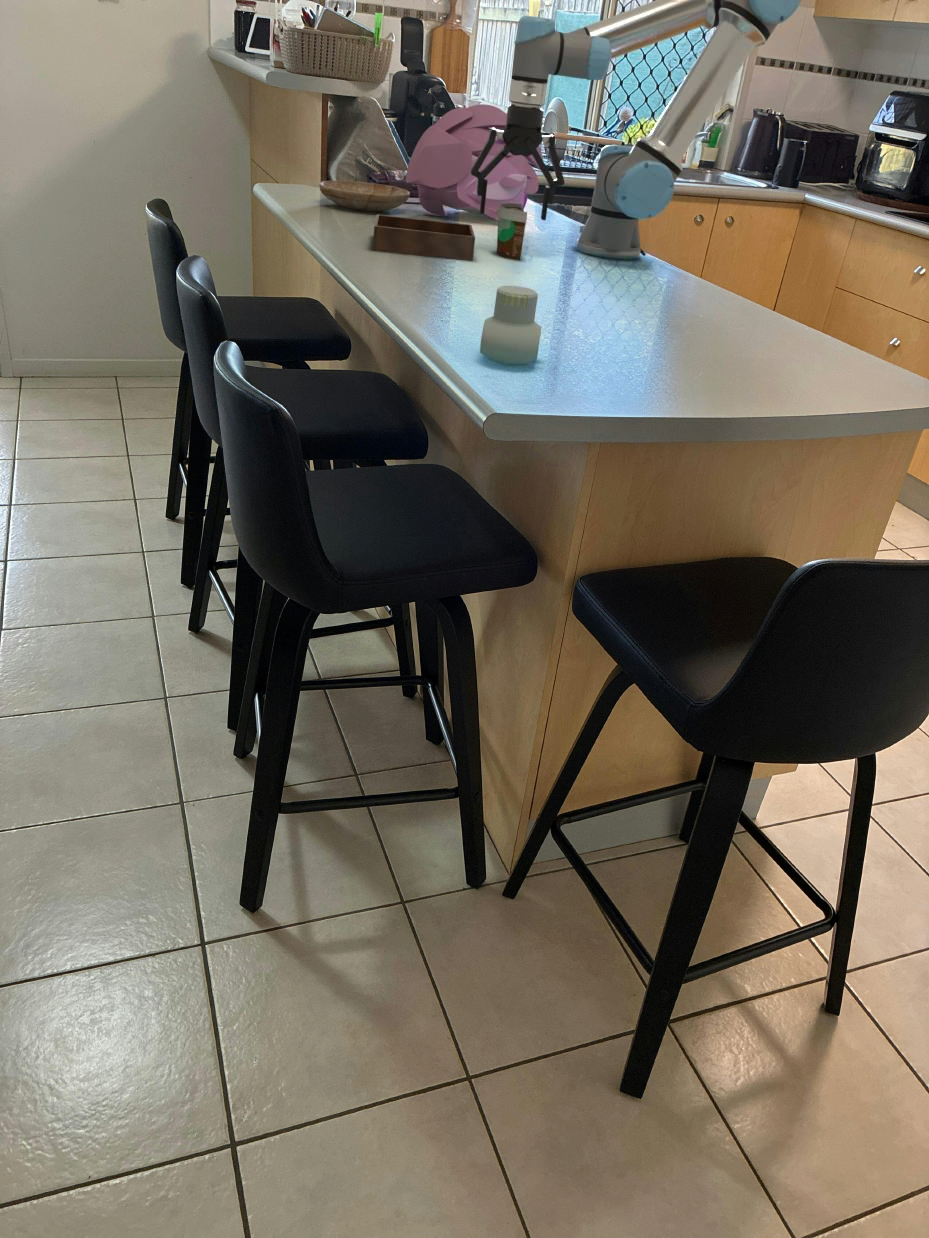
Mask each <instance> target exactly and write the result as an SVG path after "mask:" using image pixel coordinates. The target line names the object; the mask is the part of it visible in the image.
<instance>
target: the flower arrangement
mask: <svg viewBox="0 0 929 1238" xmlns="http://www.w3.org/2000/svg"><path fill="white" fill-rule="evenodd" d="M506 119H507V112H505V111H504V110H503V109H501V108H499V107H498V106H494V105H491V104H485V103H482V104H481V103H480V104H479V103H478V104H474V105H471V106H468V107H466V106H465V107H464V106H461V107H457V108H453V109H451V110H449V111H448V112H446V113H444V114H443V115H442V116H441V117H439V118H438V120H436V122H435V123H434V124H433V125H430V126H429V127H428V128H427V129H426V130H425V131H424V132H423V133H422V135H421V137H420V138H419V140H418V142H417V143H416V146H415V147H414V150H413V152H412V155H411V158H410V159H409V162H408V165H407V168H406V173H405V182H406V184H411V185H416V186H417V189H418V199H419V200H418V201H419V203H420V205H421V207H422V208H423V209H424V210H425V211H426V212H427V213H429V214H432V215H435V216H439V217H445V216H446V212H445V208H444V207H447V208H451V209H454V210H457V211H463V212H466V213H470V214H477V215H483V216H487V217H490V218H491V219H494V220H495V221H497V222H498V216H496V212H497V209H498V207H499V205H500V204H503V203H515V204H522V210H524V211H525V208H526V204H527V201H528V194H529V195H533V194H534V195H535V194H536V193H537V192H538V191H539V184H540V183H539V177H538V175H537V172H536V170H535V168H537V169H538V170H540V168H539V166H538V164H537V163H536V161H535V159H534V157H533V156H532V154H531V155H530V156H528V157H525V156H522V155H517V156H516V155H513V154H511V153H510V152H509V154H508V155H507V156H505V157H504V158H503V159H502V160H501V161H500V163H499V164H498V165H497V166H496V167H495V168H494V169H493V170H492V171H491V172H490V173H489V174H488V175H487V176H486V177H485V178H484V179H487V181H488V182H487V191H486V200H485V210H484V214H481V213H480V206H481V196H478V195H477V185H478V178H477V177H475V176H473V175H472V174H471V172H470V171H471V169H472V167H473V165H474V163H475V162H476V160H477V158H478V156H479V155H480V153H481V151H482V149H483V148H484V146H485V144H486V142H487V141H488V139H489V134H490V130H491V128H495V129H496V130H499V131H504V130H505V127H506ZM505 145H506V144H505V142H504V140H503V137H500V138H499V140H498V141H495V142H494V144H493V146H492V148H491V150H490V151H489V153H488V155H487V156H486V158H485V160H484V162H483V163H482V165H481V167H480V169H479V170H478V171H480V172H481V171H482V170H483V169H484V168H485V167H486V166H487V164H488V163H489V162H490V161H491V160H492V159H493V158H494V157H495V156H496V155H497V154H498V153H499V152H500V151H501V149H502V148H503V147H504V146H505ZM537 151H538V153H539V155H540V157H541V158H542V160H543V161H544V158H543V152H542V149H541V147H540V145H539V146H538V147H537ZM532 165H533V166H534V167H535V168H534V167H533V166H532Z"/></svg>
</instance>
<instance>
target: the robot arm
mask: <svg viewBox="0 0 929 1238" xmlns="http://www.w3.org/2000/svg"><path fill="white" fill-rule="evenodd" d="M801 3H802V0H653V1H650V2H648V3H645V4H642V5H639V6H637V7H634V8H631V9H628V10H626V11H624V12H621V13H617V14H615V15H612V16H609V17H607V18H605V19H602V20H599V21H596V22H593V23H591V24H589V25H585V26H584V27H581V28H578V29H575V30H572V31H569V32H562V31H557V30H556V21H555V20H554V18H553V19H552V18H548V17H540V16H533V15H532V16H531V15H523V16H522V17H520V19H519V20H518V22H517V28H516V34H515V39H514V50H513V57H512V58H513V59H512V70H511V77H510V78H511V79H510V85H509V94H508V101H509V102H510V104H509V105H508V106H507V111H506V114H507V119H506V127H505V130H504V131H499V130H496V129H495V128H490V129H491V130H490V134H489V139H488V141H487V142H486V144H485V146H484V148H483V149H482V151H481V153H480V155H479V156H478V158H477V160H476V162H475V163H474V165H473V167H472V169H471V171H470V172H471V174H472V175H473V176H475V177H477V178H478V185H477V195H478V196H481V206H480V213H481V214H480V215H482V214H484V210H485V200H486V191H487V182H488V181H487V179H484V178H485V177H486V176H487V175H488V174H489V173H490V172H491V171H492V170H493V169H494V168H495V167H496V166H497V165H498V164H499V163H500V161H501V160H502V159H503V158H504V157H505V156H507V155H508V154H509V152H510V153H511V154H513V155H516V156H517V155H522V156H525V157H528V156H530V155H531V154H532V156H533V157H534V159H535V161H536V163H537V164H538V166H539V168H540V169H539V171H540V172H541V173H542V175H543V177H544V179H545V180H546V182H547V184H548V185H545V186H544V190H543V200H542V206H541V213H540V219H541V221H547V215H548V207H549V204H550V205H552V204H553V203H554V198H555V191H556V188H557V187H560V186H564V185H565V183H566V182H565V178H564V174H563V171H562V168H561V164H560V160H559V158H558V154H557V150H556V137H555V135H553V134H549V135H543V134H542V128H543V121H544V120H543V119H544V113H545V111H544V109H543V108H542V107H544V106H545V104H546V95H547V88H548V82H549V76H550V75H551V76H559V77H565V78H566V77H567V78H573V79H581V80H587V81H602V80H603V79H604V78H605V77H606V75H607V73H608V72H609V67H610V63H611V60H613V59H616V58H617V57H621V56H624V55H627V54H629V53H632V52H635V51H637V50H640V49H643V48H646V47H649V46H651V45H654V44H657V43H660V42H662V41H665V40H668V39H671V38H673V37H676V36H679V35H682V34H684V33H688V32H690V31H693V30H695V29H698V28H701V27H702V28H704V29H706V30H711V29H713V28H715V30H714V31H713V33H712V34H711V35H710V38H709V39H708V40H707V42H706V44H705V46H704V47H703V48H702V50H701V51H700V54H699V55H698V57H697V58H696V60H695V61H694V63H693V64H692V66H691V67H690V69H689V71H688V72H687V74H686V76H685V77H684V79H683V81H682V82H681V83H680V85H679V87H678V89H677V90H676V91H675V94H674V95H673V96H672V98H671V100H670V101H669V103H668V105H667V106H666V107H665V109H664V110H663V112H662V114H661V115H660V116H659V119H658V120H657V122H656V123H655V125H654V127H653V128H652V130H651V131H650V133H649V134H648V135H647V136H643V137H640V138H638V139H637V140H636V142H635V143H634V145H633V146H630V145H615V144H612V145H611V144H609V145H604V147H602V148H601V150H600V154H599V158H598V160H597V170H596V175H595V181H594V187H593V188H594V189H593V194H592V199H591V200H592V201H591V206H590V211H589V216H588V218H587V220H586V222H585V223H584V224H585V225H580V226H579V233H580V235H579V237H578V239H577V243H576V250H577V251H579V252H581V253H584V254H586V255H590V256H595V257H599V258H604V259H611V260H612V259H613V260H624V261H625V260H627V261H629V260H632V261H633V260H637V259H640V255H642V256H643V257H645V256H646V255H647V253H646V252H645V251H644V250H643V249H642V247H641V237H640V228H639V220H647V219H652V218H654V217H656V216H658V215H659V214H661V213H662V212H663V211H664V210H665V209H666V208H667V207H668V205H669V204H670V203H671V201H672V198H673V197H674V192H675V182H676V181H677V179H678V177H679V176H680V174H681V173H682V171H683V163H682V159H683V157H684V156H685V154H686V152H687V151H688V149H689V148H690V146H691V144H692V143H693V142H694V140H695V138H696V137H697V135H698V134H699V132H700V131H701V129H702V128H703V126H704V124H705V123H706V121H708V119H709V117H710V116H711V114H712V112H713V111H714V109H715V108H716V106H717V105H718V103H719V101H720V100H721V99H722V97H723V96H724V93H725V92H726V91H727V90H728V88H729V86H730V85H731V83H732V81H733V80H734V78H735V77H736V76H737V74H738V72H739V71H740V70H741V67H742V66H743V65H744V63H745V61H746V60H747V58H748V57H749V56H750V54H751V52H752V50H753V49H755V48H757V47H761V46H764V45H766V43H767V41H768V40H769V39H770V37H771V35H772V34H773V32H774V31H775V29H776V28H777V26H778V25H780V24H782V23H784V22H785V21H787V20H788V19H790V17H792V16H793V15H794V13H795V12H796V11H797V10H798V8H799V6H800V5H801ZM500 137H503V140H504V142H505V144H506V145H505V146H504V147H503V148H502V149H501V151H500V152H499V153H498V154H497V155H496V156H495V157H494V158H493V159H492V160H491V161H490V162H489V163H488V164H487V166H486V167H485V168H484V169H483V170H482V171H481V172H480V171H478V170H479V169H480V167H481V165H482V163H483V162H484V160H485V158H486V156H487V155H488V153H489V151H490V150H491V148H492V146H493V144H494V142H495V141H498V140H499V138H500ZM542 143H543V144H544V146H545V147H546V148H547V149H548V153H549V156H550V160H551V164H552V167H553V171H554V174H555V178H556V179H554V178H553V176H552V175H551V172H550V170H549V169H548V167H547V165H546V163H545V162H544V159H543V160H542V158H541V157H540V155H539V153H538V151H537V147H538V146H540V145H541V144H542Z"/></svg>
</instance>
